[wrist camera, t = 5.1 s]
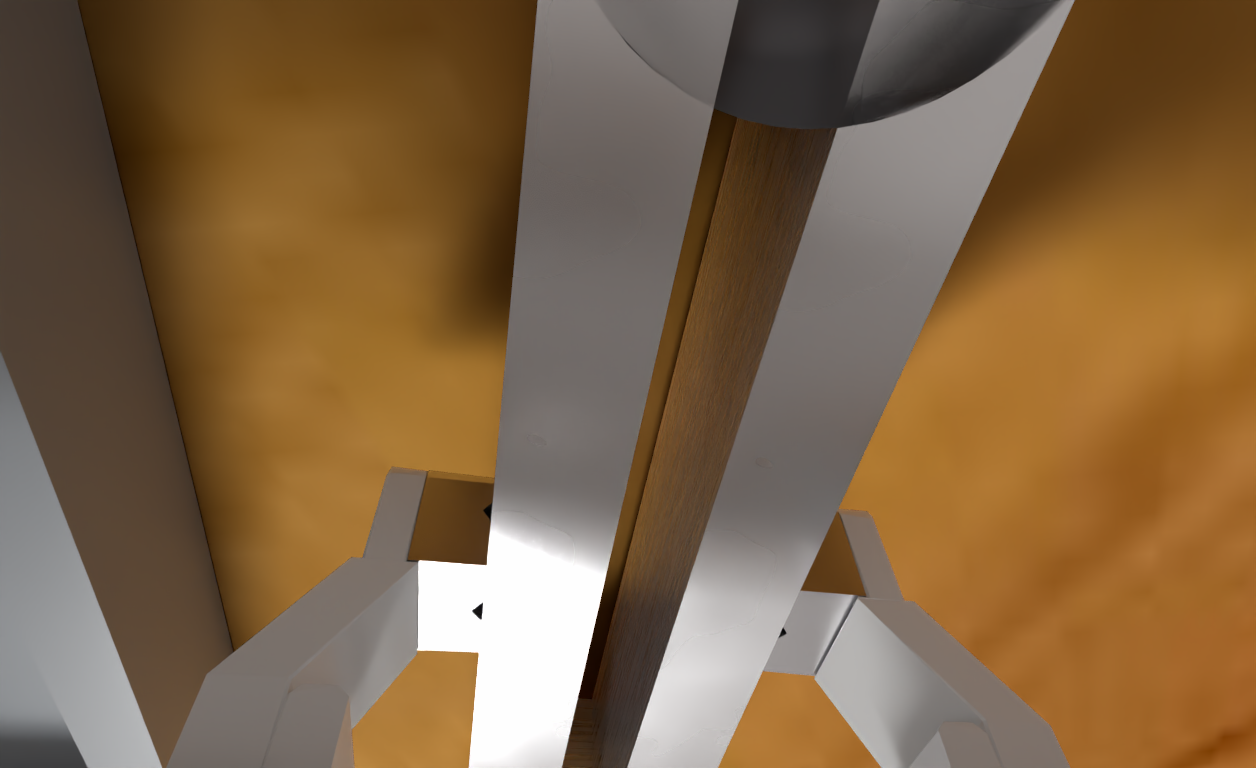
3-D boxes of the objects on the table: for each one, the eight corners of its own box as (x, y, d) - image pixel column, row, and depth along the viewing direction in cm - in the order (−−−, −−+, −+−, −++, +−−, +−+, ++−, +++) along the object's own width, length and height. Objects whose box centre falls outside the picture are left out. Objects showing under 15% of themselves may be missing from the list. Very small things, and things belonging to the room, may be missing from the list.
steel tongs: (1052, -440, 7) (1362, -580, 4) (643, 749, 19) (652, 918, 16) (590, -559, 6) (590, -810, 4) (472, 740, 18) (450, 914, 16)
